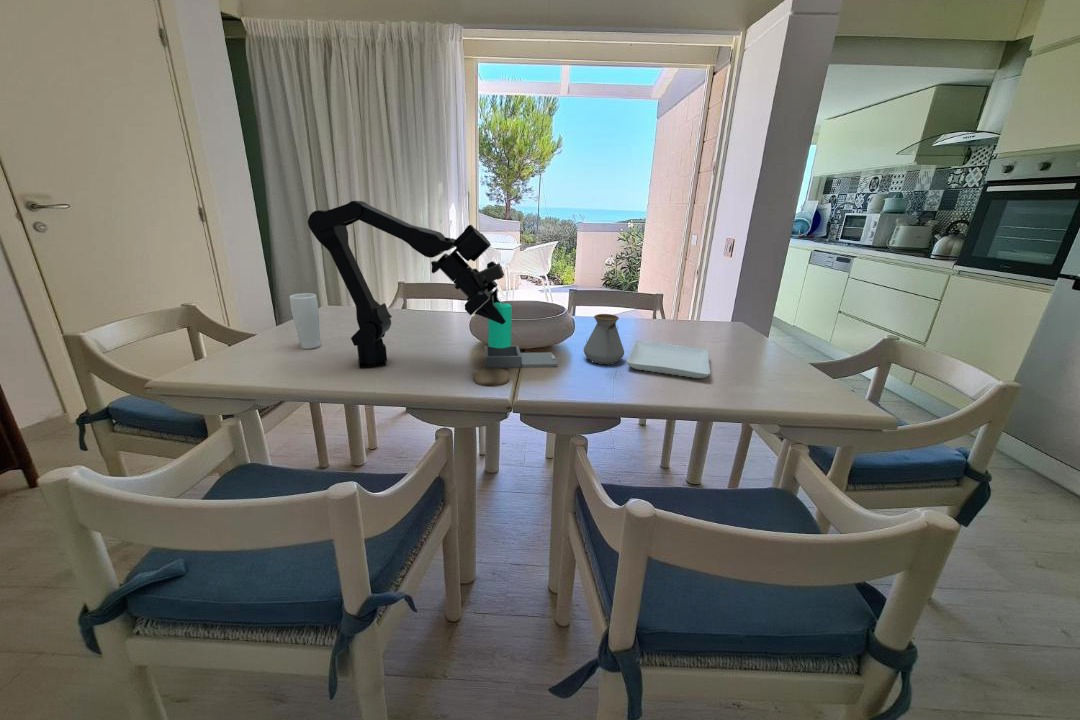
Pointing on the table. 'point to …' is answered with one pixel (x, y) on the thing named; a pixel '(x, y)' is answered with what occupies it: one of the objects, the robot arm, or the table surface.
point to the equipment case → (516, 358)
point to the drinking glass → (306, 319)
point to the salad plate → (670, 359)
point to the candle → (500, 327)
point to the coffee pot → (604, 341)
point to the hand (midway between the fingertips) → (505, 320)
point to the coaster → (490, 377)
